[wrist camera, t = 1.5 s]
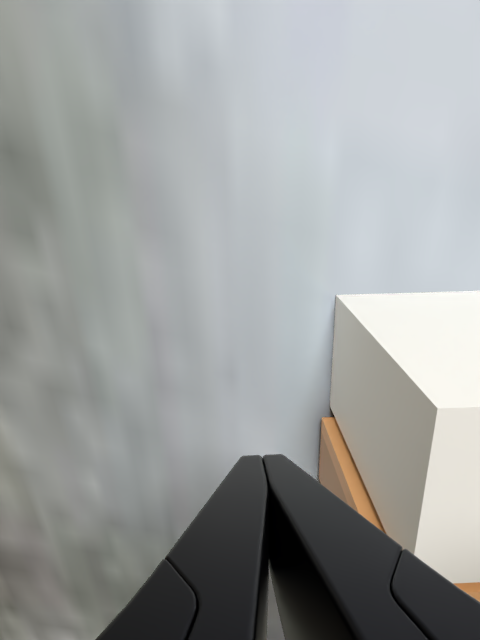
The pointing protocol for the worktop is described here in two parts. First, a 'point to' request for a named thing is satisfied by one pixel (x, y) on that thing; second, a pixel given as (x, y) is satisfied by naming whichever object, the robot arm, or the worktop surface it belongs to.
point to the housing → (415, 418)
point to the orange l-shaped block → (354, 482)
